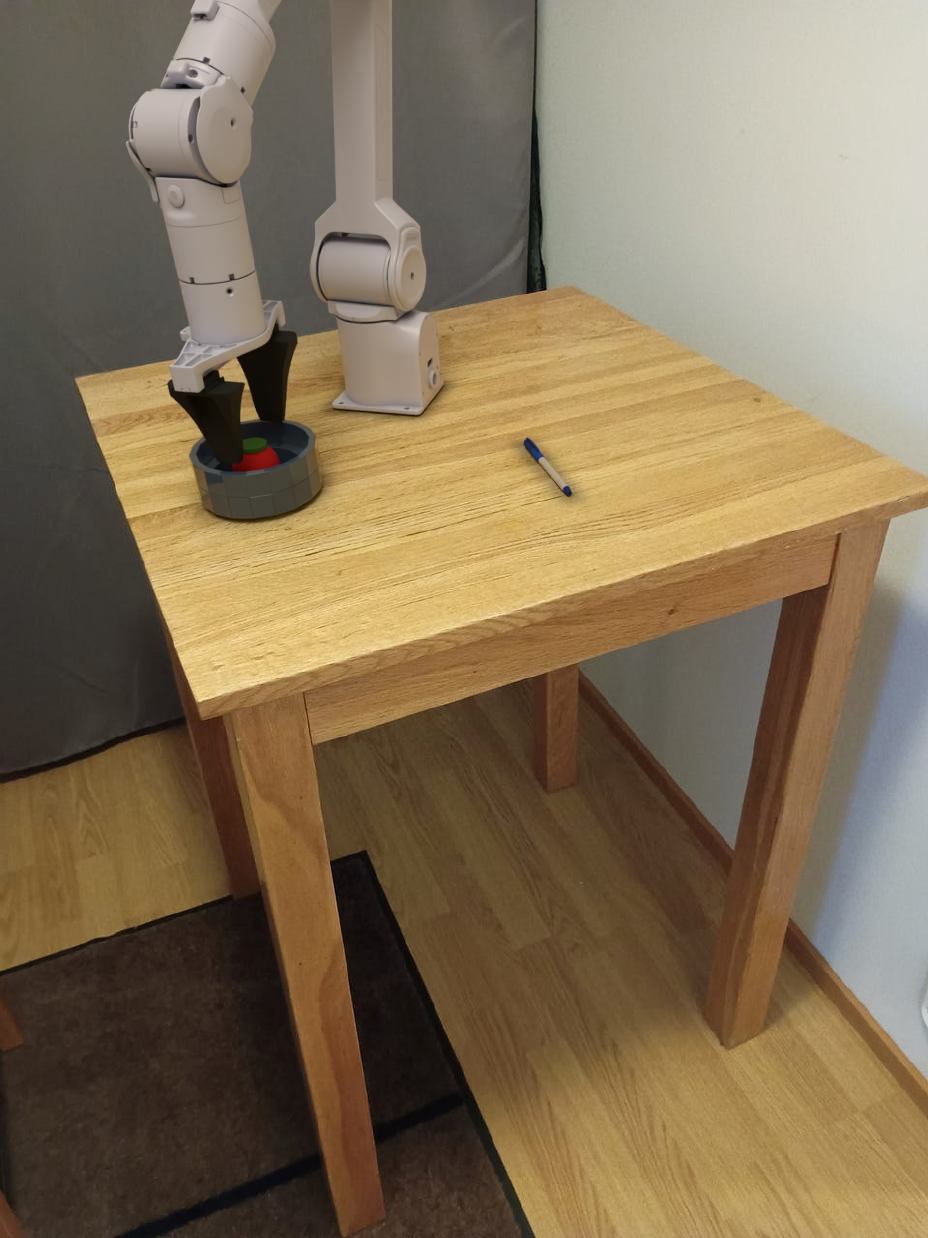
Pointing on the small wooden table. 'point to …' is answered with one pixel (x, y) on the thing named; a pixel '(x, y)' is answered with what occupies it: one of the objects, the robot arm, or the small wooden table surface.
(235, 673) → the small wooden table surface
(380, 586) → the small wooden table surface
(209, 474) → the dessert bowl
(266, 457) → the tomato
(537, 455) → the ballpoint pen
